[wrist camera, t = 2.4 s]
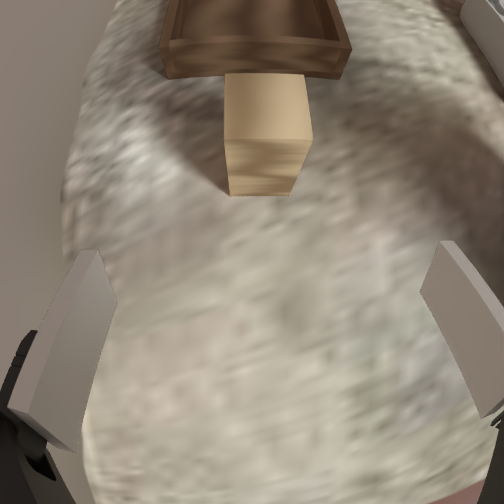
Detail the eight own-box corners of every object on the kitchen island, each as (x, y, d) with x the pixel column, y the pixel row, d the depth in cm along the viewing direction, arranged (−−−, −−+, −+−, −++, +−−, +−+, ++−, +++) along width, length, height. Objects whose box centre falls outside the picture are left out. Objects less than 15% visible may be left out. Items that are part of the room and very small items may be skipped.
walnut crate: (310, -20, 32) (315, -44, 27) (339, 79, 29) (352, 49, 24) (187, -21, 32) (184, -45, 27) (167, 79, 28) (158, 48, 23)
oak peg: (285, 144, 27) (304, 74, 17) (288, 195, 27) (313, 139, 17) (229, 144, 27) (224, 73, 17) (230, 196, 26) (223, 139, 17)
